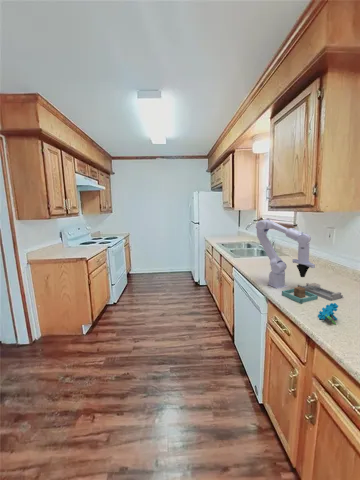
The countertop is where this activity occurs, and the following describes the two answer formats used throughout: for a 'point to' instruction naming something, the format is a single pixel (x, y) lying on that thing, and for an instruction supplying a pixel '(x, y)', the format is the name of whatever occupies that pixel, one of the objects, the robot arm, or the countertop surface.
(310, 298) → the tray
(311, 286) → the light grey block
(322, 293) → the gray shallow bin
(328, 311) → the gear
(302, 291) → the stop block
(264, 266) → the countertop surface
